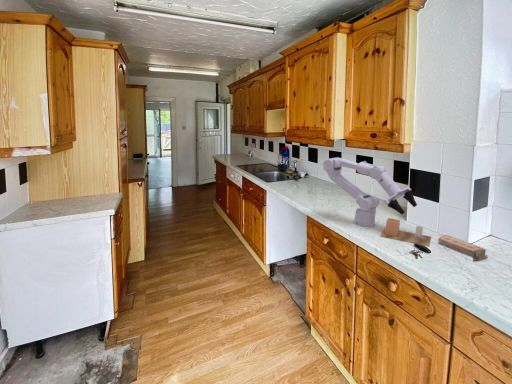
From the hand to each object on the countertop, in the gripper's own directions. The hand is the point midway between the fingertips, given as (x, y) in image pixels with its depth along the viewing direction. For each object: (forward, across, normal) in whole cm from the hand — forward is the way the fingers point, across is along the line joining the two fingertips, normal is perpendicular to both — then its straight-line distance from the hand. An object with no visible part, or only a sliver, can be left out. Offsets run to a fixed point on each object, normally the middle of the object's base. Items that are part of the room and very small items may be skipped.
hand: (409, 209), depth 139 cm
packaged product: (+25, +3, -2) cm, 25 cm away
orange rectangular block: (+4, -10, +9) cm, 14 cm away
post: (+12, -4, +4) cm, 13 cm away
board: (+10, -7, +7) cm, 14 cm away
